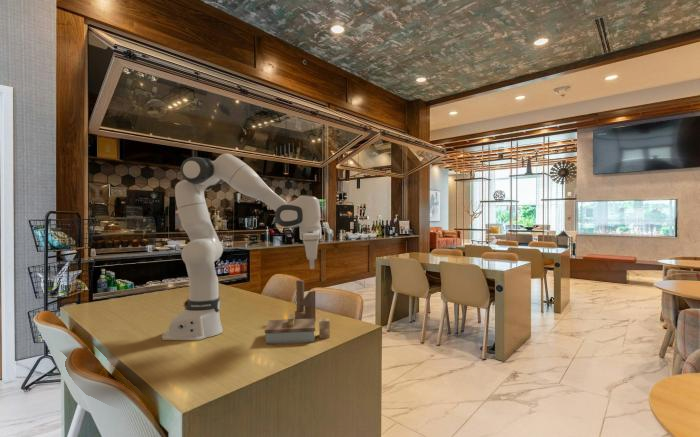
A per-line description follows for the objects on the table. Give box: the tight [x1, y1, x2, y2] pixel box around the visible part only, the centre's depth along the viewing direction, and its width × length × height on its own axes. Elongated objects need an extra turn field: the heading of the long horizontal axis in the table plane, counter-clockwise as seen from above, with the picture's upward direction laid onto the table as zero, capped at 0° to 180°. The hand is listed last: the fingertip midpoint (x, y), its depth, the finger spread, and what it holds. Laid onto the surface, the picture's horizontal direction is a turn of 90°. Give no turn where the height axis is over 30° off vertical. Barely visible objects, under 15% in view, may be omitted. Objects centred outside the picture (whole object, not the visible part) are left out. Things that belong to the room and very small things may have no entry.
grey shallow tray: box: [265, 331, 315, 345], centre depth 134 cm, size 18×12×4 cm, turn 96°
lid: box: [264, 313, 316, 334], centre depth 134 cm, size 19×13×4 cm
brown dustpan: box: [294, 279, 317, 322], centre depth 158 cm, size 4×11×18 cm, turn 48°
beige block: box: [318, 317, 331, 339], centre depth 136 cm, size 4×4×6 cm
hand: (312, 268), depth 140 cm, fingers closed
